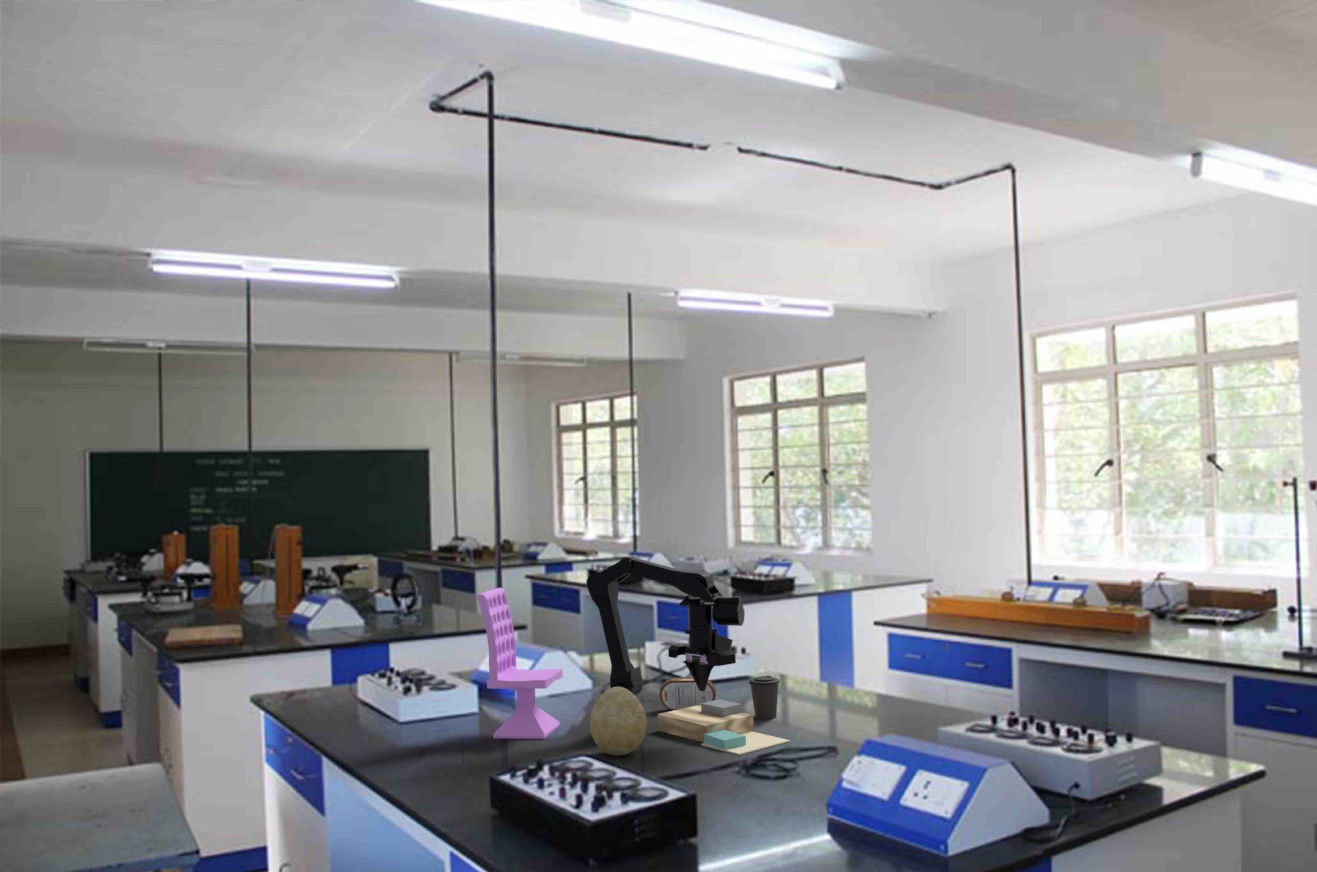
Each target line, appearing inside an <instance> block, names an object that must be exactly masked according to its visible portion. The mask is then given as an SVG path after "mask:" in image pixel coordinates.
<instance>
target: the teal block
mask: <svg viewBox="0 0 1317 872" xmlns="http://www.w3.org/2000/svg"><path fill="white" fill-rule="evenodd" d="M703 743H707V744H710V745H713V746H716V747H719V748H722V749H729V748H734V747H739V746H743V745H746V736H744V735H741V734H737V733H734V732H731V731H727V730H721V731H716V732H711V733H706V734H704V742H703Z"/></svg>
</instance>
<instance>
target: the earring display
mask: <svg viewBox="0 0 1317 872" xmlns="http://www.w3.org/2000/svg"><path fill="white" fill-rule="evenodd" d="M476 598H477V601H478V605H479V608H480V611H481V615H482V618H483V623H484V627H485V631H486V632H485V633H486V638H487V639H486V640H487V645H488V646H487V647H488V669H489V673H488V674H489V676H488V679H486V689H491V690H492V689H494V690H495V689H496V690H497V689H507V690H508V689H509V690H516V707H517V708H516V710H515V711H514V712H513V713H512V714H511V715H510V716H509V717H508V718H507V719H506V720H505V721H504V722H503V723H502V724H501V725H500V727H498V728H497V730H496V731H494V733H493V734H492V735H493V739H494V740H497V739H499V740H500V739H502V740H509V739H510V740H512V739H514V740H524V739H525V740H545V739H547V738H548V737H549V736H550V735H551V734H552V733H554V732H555V731H556V730H557V729H558V728H560V727H559V726H561V725H560V724H561V723H560V721H559V720H557V718H554V717H553V716H552V715H550V714H548V713H547V712H546V711H544V710H543V709H541V708H539V707H538V706H537V705H536V689H537V690H538V689H539V690H540V689H543V690H544V689H547V688H549V687H550V686H551V685H552V684H553V683H554V682H555V681H557V680H561V679H562V678H563V668H549V669H522V668H521V669H520V668H518V669H517V653H516V652H517V650H516V637H515V636H516V635H515V629H514V624H513V617H512V614H511V609H510V606H509V602H508V597H507V594H506V591H505V589H504V588H503V587H496V588H494V589H489V590H486V591H483V592H481V593H478V594H477V597H476Z"/></svg>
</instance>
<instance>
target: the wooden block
mask: <svg viewBox="0 0 1317 872" xmlns="http://www.w3.org/2000/svg"><path fill="white" fill-rule="evenodd" d="M754 728H755V727H754V714H751V713H746V712H741V713H737V714H732V715H728V716H724V717H723V716H719V715H714V714H710V713H705V712H701V705H697V706H693V707H688V708H683V709H679V710H674V711H673V710H669V711H667V712H666V711H665V712H660V713H658V714H657V731H658V732H661V733H666V734H669V735H674V736H677V737H681V738H685V739H689V740H693V741H697V742H701V743H704V734H706V733H711V732H716V731H721V730H727V731H731V732H734V733H737V734H742V733H746V732H750V731H752V732H755V731H754V730H755V729H754Z"/></svg>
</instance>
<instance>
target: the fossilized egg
mask: <svg viewBox="0 0 1317 872" xmlns="http://www.w3.org/2000/svg"><path fill="white" fill-rule="evenodd" d="M646 715H647V714H646V712H645V709H644V707H643V705H642V703H641V702H640V700H639V698H638V696H637V697H636V696H635V695H634V694H633V693H632V692H630V691H629V690H627V689H626V688H623V687H613V688H609V689H607V690H605V691H604V692H603V693H602V694H601V695H600V697H598V698H597V701H596V702H595V704H594V706H593V708H592V711H591V713H590V718H589V729H590V735H591V737H592V739H593V741H594V743H595V744H596V746H597V747H598V748H599V749H600V750H602V752H604V753H605V754H608V755H611V756H617V757H618V756H620V757H621V755H622V756H626V755H629V754H630V753H632V752H634V751H635V750H637V748H638V747H639V746H640V745H641V744H642V743H643V740H644V738H645V736H646V734H647V733H646V732H647V727H648V726H647V725H648V721H647V716H646Z"/></svg>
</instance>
